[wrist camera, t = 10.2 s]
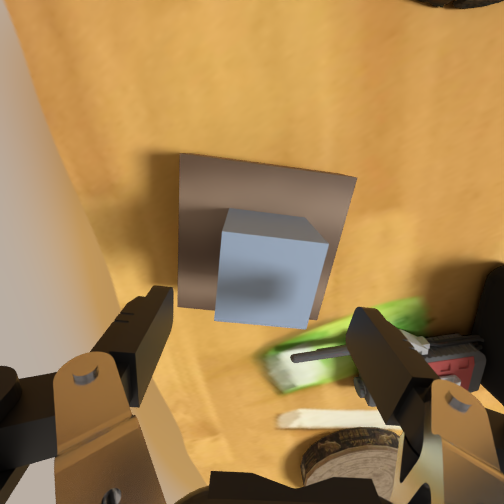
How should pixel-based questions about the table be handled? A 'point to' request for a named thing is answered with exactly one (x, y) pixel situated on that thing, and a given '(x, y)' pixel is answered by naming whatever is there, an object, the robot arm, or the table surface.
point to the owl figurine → (463, 3)
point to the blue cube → (268, 269)
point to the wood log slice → (354, 457)
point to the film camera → (492, 333)
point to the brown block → (253, 199)
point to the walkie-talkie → (426, 359)
